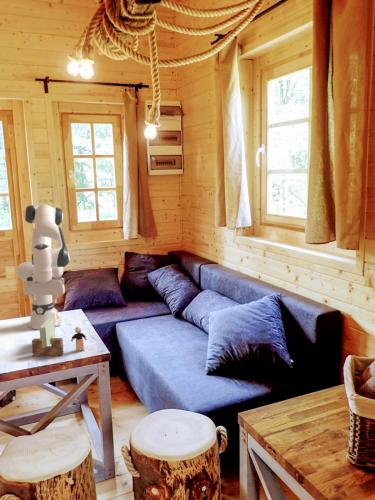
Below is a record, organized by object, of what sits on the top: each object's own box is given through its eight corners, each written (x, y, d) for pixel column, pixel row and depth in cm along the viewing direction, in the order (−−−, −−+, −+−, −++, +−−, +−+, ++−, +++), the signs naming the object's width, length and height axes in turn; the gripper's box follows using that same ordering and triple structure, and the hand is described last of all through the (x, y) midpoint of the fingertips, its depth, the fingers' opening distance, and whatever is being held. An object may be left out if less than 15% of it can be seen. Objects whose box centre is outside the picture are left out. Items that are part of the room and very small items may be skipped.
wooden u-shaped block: (33, 356, 208) (31, 340, 207) (35, 354, 211) (33, 338, 210) (61, 355, 208) (60, 340, 207) (63, 353, 211) (62, 337, 210)
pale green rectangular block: (49, 340, 229) (48, 318, 227) (55, 340, 229) (53, 318, 227) (41, 350, 215) (39, 327, 214) (47, 350, 215) (45, 327, 214)
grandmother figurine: (86, 347, 218) (84, 323, 216) (88, 350, 214) (86, 326, 212) (70, 350, 214) (69, 326, 212) (72, 353, 211) (71, 328, 209)
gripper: (65, 275, 220) (67, 301, 222) (25, 275, 220) (27, 302, 222) (62, 277, 214) (64, 304, 216) (21, 278, 213) (23, 305, 215)
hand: (45, 303), depth 219 cm, fingers open, 8 cm apart
